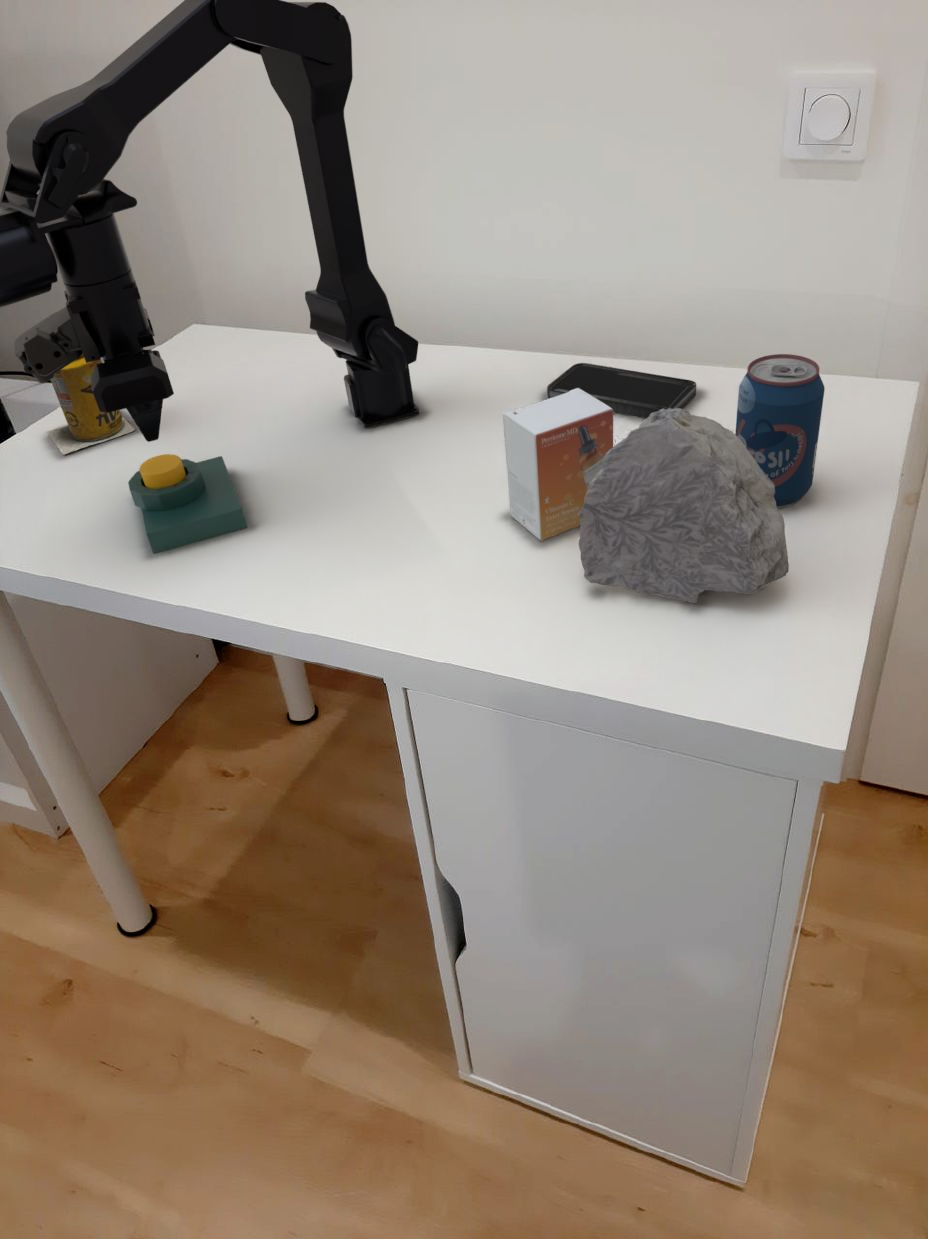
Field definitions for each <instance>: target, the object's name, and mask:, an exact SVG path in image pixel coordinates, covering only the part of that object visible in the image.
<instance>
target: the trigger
mask: <svg viewBox="0 0 928 1239" xmlns="http://www.w3.org/2000/svg"><path fill="white" fill-rule="evenodd" d="M181 459H182V458H181V457H180V456H179V455H177V454H171V453H170V454H169V453H168V454H160V455H155V456H153V457H150V458H148V459H147V460H145V461H143V462H142V464H140V466H139V470H140V472H141V475H142V478H143V481H144V484H145V486H146V487H147V488H149V489H161V488H165V487H169V486H172V485H175V484H177V483H179V482H180V481H182V480H184V478H185V477H186V473H185V470H184V467H183V464H182V460H181Z"/></svg>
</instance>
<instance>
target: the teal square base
mask: <svg viewBox="0 0 928 1239" xmlns="http://www.w3.org/2000/svg"><path fill="white" fill-rule="evenodd" d="M181 460H182V464H183V467H184V470H185V473H186V477H185V478H184V480H182V481H180V482H179V483H177V484H175V485H172V486H169V487H165V488H161V489H149V488H147V487H146V486H145V484H144V481H143V478H142V475H141V472H140V469H139V470H138V471H136V472H135V473H134V474H133V475H132V477H131V478H130V479H129V480H128V482H127V484H128V489H129V492H130V495H131V497H132V498H131V499H132V500H133V503H134V505H135V506H136V507H137V508H139V509H140V510H141V515H142V520H143V525H144V531H145V534H146V538H147V540H148V543H149V546H150V549H151V551H152V553H153V554H154V555H155V554H158V553H161V552H165V551H169V550H173V549H176V548H180V547H183V546H186V545H189V544H190V545H191V544H195V543H198V542H201V541H204V540H209V539H212V538H216V537H219V536H222V535H227V534H230V533H233V532H237V531H241V530H244V529H247V528H248V525H247V522H246V518H245V514H244V511H243V508H242V505H241V502H240V500H239V497H238V495H237V492H236V490H235V487H234V484H233V482H232V478H231V476H230V474H229V471H228V469H227V466H226V463H225V460H224V457H223V456H222V455H220V456H217V457H212V458H208V459H205V460H201V461H197V462H195V461H192V460H190V459H186V458H181Z"/></svg>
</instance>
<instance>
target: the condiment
mask: <svg viewBox="0 0 928 1239" xmlns="http://www.w3.org/2000/svg"><path fill="white" fill-rule="evenodd" d="M98 363H102V361H101V359H100V360H97V361H92V362H88V363H86V361H85V358H84V355H83V354H82V355H81V356H80V357H79V358H78V359H76V360H75V361H73V362H72V363H70V364H69V365H67V366H66V367H64V368H63V369H61V370H60V371H58V372H57V373H55V374H54V377H53V378H52V379H50V380H49V381H50V383H51V384H52V387H53V390H54V391H55V395H56V397H57V400H58V402H59V405H60V408H61V411H62V413H63V416H64V418H65V421H66V423H67V425H65V426H62V427H58V428H54V429H51V430H48V431H46V433H47V435H48V436H49V438H50V440H52V442H53V443H54V445H55V447H56V448H57V449H58V450H59V451H60V452H61V454H62V455H63V456H65V455H66V454H67V455H68V454H69V453H73V452H76V451H78V450H80V449H85V448H87V447H89V446H94V445H96V444H100V443H103V442H106V441H110V440H112V439H115V438H118V437H121V436H124V435H127V434H129V433H132V432H134V431H135V430H136V429H135V428H134V426H132V425H131V424H130V423H129V422H128V421H127V419H126V418H125V417H123V415H122V413H121V410H117V411H113V412H109V413H104V412H100V411H99V408H98V406H97V403H96V400H95V397H94V395H93V392H92V386H91V380H90V376H91V374H92V373H93V371H94V366H95V365H96V364H98Z"/></svg>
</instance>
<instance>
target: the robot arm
mask: <svg viewBox="0 0 928 1239" xmlns="http://www.w3.org/2000/svg"><path fill="white" fill-rule="evenodd" d="M352 40H353V39H352V33H351V29H350V26H349V22H348V20H347V18H346V16H345V15H344V14H342V13H341V12H340V11H339V10H338V9H337V8H336V7H335V6H334V5H332V4H330V3H327V2H325V1H285V0H182V1H181V3H180V4H179V5H177V6H176V7H174V8H173V10H171V11H170V12H169V13H168V14H167V15H165V16H164V17H163V18H162V19H161V20H159V21H158V22H157V23H156V24H155V25H153V26H152V27H151V28H150V29H149V30H148V31H147V32H145V33H144V34H143V35H142V36H140V38H138V39H137V40H135V42H133V43H132V44H131V45H130V46H129V47H128V48H127V49H125V50H124V51H123V52H122V53H120V54H119V55H118V56H117V57H116V58H115V59H114V60H112V61H111V62H110V63H109V64H108V65H107V66H105V67H104V68H103V69H101V71H99V72H98V73H97V74H96V75H95V76H93V77H92V78H91V79H89V80H87V81H85V82H84V83H81V84H80V85H77V86H75V87H72V88H70V89H67V90H65V91H61V92H59V93H57V94H54V95H51V96H50V97H48V98H46V99H44V100H42V101H40V102H38V103H36V104H34V105H33V106H30V107H29V108H27V109H25V110H23V111H21V112H19V113H18V114H17V115H15V116H14V118H13V119H12V120H11V121H10V123H9V124H8V127H7V129H6V133H5V134H6V150H7V154H8V157H9V162H8V166H7V169H6V174H5V178H4V181H3V186H2V188H1V193H0V309H2V308H4V307H7V306H10V305H14V304H16V303H19V302H22V301H25V300H28V299H31V298H34V297H37V296H40V295H43V294H47V293H49V292H51V291H52V286H53V284H55V283H57V282H59V280H58V272H59V274H60V277H61V279H62V283H63V285H64V288H65V290H64V292H63V293H64V297H65V299H66V301H65V306H64V307H62V308H61V309H60V310H58V311H55V312H53V313H51V314H50V315H48V316H47V317H45V318H43V319H42V320H40V321H39V322H38V323H36V324H35V325H33V326H32V327H30V328H29V329H27V330H25V331H24V332H22V333H21V334H20V335H19V336H17V337H16V339H15V340H14V344H13V346H14V347H13V350H14V352H13V353H14V356H16V358H17V359H18V360H19V361H20V362H21V363H22V365H23V370H24V372H25V373H26V374H28V375H32V376H33V377H34V378H35V379H36V380H37V381H38V383H39V384H44V383H47V382H49V381H51V380H50V379H52V378H53V377H54V374H55V373H57V372H58V371H60V370H61V369H63V368H64V367H66V366H67V365H69V364H70V363H72V362H73V361H75V360H76V359H78V358H79V357H80V356H81V355H82V354H83V355H84V358H85V361H86V363H88V362H92V361H97V360H100V359H101V361H102V363H98V364H96V365H95V366H94V371H93V373H92V374H91V376H90V380H91V386H92V392H93V395H94V397H95V400H96V403H97V406H98V408H99V411H100V412H104V413H109V412H113V411H117V410H120V411H122V410H125V409H126V411H127V413H128V414H129V415H130V417H131V419H132V420H133V422H134V423H135V425H136V426H137V428H138V430H139V432H140V433H141V434H142V436H143V438H144V439H145V440H146V442H148V443H150V442H155V441H157V440H159V438H160V430H161V420H162V411H163V406H164V404H163V403H164V400H165V399H169V398H170V397H172V396H173V395H174V394H175V392H174V389H173V386H172V383H171V380H170V377H169V376H170V375H169V374H168V373H169V372H168V369H167V367H166V364H165V361H164V359H162V356H161V353H160V351H159V350H151V349H144V348H149V347H153V346H156V342H155V339H154V337H156V335H155V331H154V329H153V326H152V322H151V318H150V315H149V313H148V310H147V308H146V307H144V305H143V304H144V303H143V301H142V297H141V294H140V291H139V288H138V285H137V282H136V279H135V275H134V272H133V269H132V267H131V263H130V260H129V259H130V258H129V256H128V253H127V250H126V247H125V244H124V240H123V237H122V234H121V230H120V228H119V224H118V222H117V218H116V215H115V214H116V213H119V212H122V211H126V210H129V209H133V208H135V207H136V206H137V205H138V200H137V198H136V197H134V196H132V195H130V194H128V193H126V192H125V191H123V190H121V189H120V188H118V186H116V184H114V183H113V181H112V180H110V179H106V177H107V176H108V174H109V172H110V171H111V170H112V169H113V167H114V166H115V165H116V163H117V162H118V161H119V159H120V158H121V157H122V155H123V152H124V150H125V147H126V146H127V143H128V140H129V138H130V136H131V134H132V133H133V132H134V130H135V129H136V127H137V126H138V125H139V124H140V123H141V122H142V121H143V120H144V119H145V118H147V117H148V116H149V115H150V114H151V113H152V112H153V111H155V110H156V109H157V108H158V107H159V106H160V105H161V104H162V103H164V102H165V101H166V100H167V99H168V98H170V97H171V96H172V95H173V94H174V93H175V92H176V91H177V90H179V89H180V88H182V86H183V85H184V84H186V83H187V82H188V81H189V80H190V79H191V78H192V77H193V76H195V74H197V73H198V72H199V71H200V70H201V69H203V68H204V67H205V66H206V65H208V63H209V62H211V61H212V60H213V59H214V58H215V57H216V56H217V55H219V54H220V53H221V52H222V51H223V50H225V48H227V47H228V46H229V45H230V46H233V47H235V48H237V49H239V50H242V51H246V52H249V53H252V54H255V55H259V56H261V60H262V63H263V65H264V68H265V71H266V74H267V77H268V80H269V83H270V85H271V87H272V89H273V91H274V92H275V93H276V95H277V97H278V99H279V100H280V101H281V104H282V105H283V106H284V109H285V110H286V111H287V113H288V115H289V117H290V120H291V123H292V127H293V128H292V129H293V134H294V138H295V143H296V148H297V153H298V158H299V165H300V169H301V175H302V179H303V180H302V181H303V184H304V190H305V194H306V201H307V206H308V210H309V211H308V212H309V216H310V221H311V226H312V231H313V237H314V242H315V248H316V253H317V257H318V262H319V270H320V273H319V277H318V281H317V283H316V284H317V285H316V288H315V289H312V290H306V291H305V292H304V300H305V302H306V305H307V308H308V311H309V317H310V318H309V319H310V321H309V329H310V330H312V331H315V332H316V335H317V337H318V339H319V340H320V342H322V343H323V344H324V345H326V346H327V347H329V348H331V349H332V351H333V353H334V354H335V356H336V357H337V358H339V359H343V360H345V365H346V370H347V374H345V375H344V376H343V382H344V388H345V393H346V398H347V403H348V407H349V410H350V412H351V413H352V415H353V417H354V418H356V419H358V421H360V423H361V425H362V426H363V427H364V428H365V429H366V428H372V427H376V426H379V425H383V424H387V423H391V422H395V421H399V420H402V419H406V418H411V417H414V416H418V415H420V414H421V412H420V408H419V407H418V406H417V405H416V403H415V401H414V400H415V399H414V394H413V387H412V381H411V380H412V379H411V374H410V368H409V367H410V366H409V365H410V364H413V363H415V362H417V357H418V351H419V350H418V349H419V341H418V340H417V339H416V338H414V337H413V336H411V335H410V334H408V333H407V332H405V331H404V330H403V329H401V328H400V327H398V326H396V323H395V320H394V316H393V312H392V310H391V305H390V303H389V299H388V297H387V294H386V292H385V291H384V289H383V287H382V286H381V284H380V283H379V281H378V279H377V277H375V275H374V273H373V271H372V270H371V268H370V265H369V260H368V255H367V249H366V248H367V247H366V243H365V237H364V230H363V224H362V218H361V217H362V216H361V213H360V212H361V211H360V205H359V199H358V192H357V187H356V182H355V174H354V167H353V163H352V156H351V150H350V145H349V137H348V131H347V126H346V119H345V108H346V104H347V100H348V98H349V97H348V96H349V93H350V89H351V85H352V82H353V78H354V75H353V74H354V73H353V72H354V70H353V41H352Z"/></svg>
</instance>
